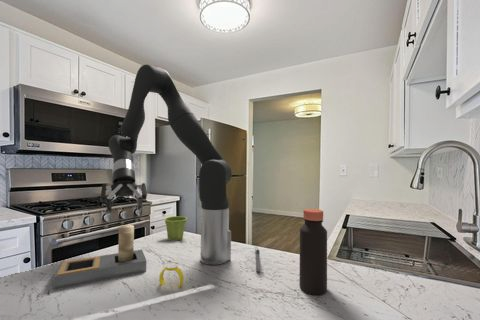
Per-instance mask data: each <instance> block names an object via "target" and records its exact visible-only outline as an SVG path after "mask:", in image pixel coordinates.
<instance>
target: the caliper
mask: <svg viewBox="0 0 480 320" xmlns="http://www.w3.org/2000/svg"><path fill="white" fill-rule="evenodd" d="M254 252H255V272H260V263H261V262H260V249H259V247H258V246H257V245H255V246H254Z"/></svg>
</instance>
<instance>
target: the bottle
mask: <svg viewBox="0 0 480 320" xmlns="http://www.w3.org/2000/svg"><path fill="white" fill-rule="evenodd" d="M303 221H304V224H303V225H302V226H301V227H300V228H299V284H298V285H299V288H300V289H301V290H302V291H303V292H304V293H307V294H309V295H313V296H322V295H325V294H326V293H327V292H328V230H327V229H326V228H325V226H323V223H324V210H322V209H316V208H305V209H303Z"/></svg>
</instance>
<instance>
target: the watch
mask: <svg viewBox="0 0 480 320" xmlns="http://www.w3.org/2000/svg"><path fill="white" fill-rule="evenodd" d="M166 271H169V272H173V271H175V272H176V273H177V274H178V277H179V284H178V286H177V288H180V287H181V286H182V285H183V283H184V273H183V271H182V269H180V267H178V264H177V263H168V264H166V267H164V268H163V269H162V271H161V272H160V273H159V282H160V283H159V284H160V286H164V285H165V283H166V282H165V280H164V273H165V272H166Z"/></svg>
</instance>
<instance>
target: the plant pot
mask: <svg viewBox="0 0 480 320" xmlns="http://www.w3.org/2000/svg"><path fill="white" fill-rule="evenodd" d="M163 220H164V222H165V223H164V224H165V226H166V227H165V228H166V234H167V240H168V241H174V240H176V241H179V240H183V239H184V232H185V227H186V223H187V220H188V218H187V217H186V216H169V217H165V218H164V219H163Z"/></svg>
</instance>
